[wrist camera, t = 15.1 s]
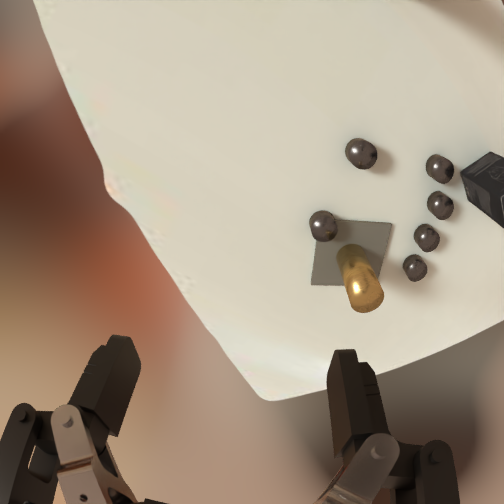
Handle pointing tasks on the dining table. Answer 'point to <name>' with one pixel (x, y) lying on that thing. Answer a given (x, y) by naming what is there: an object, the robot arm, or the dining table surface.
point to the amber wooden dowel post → (359, 279)
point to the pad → (350, 232)
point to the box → (486, 185)
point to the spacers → (424, 235)
